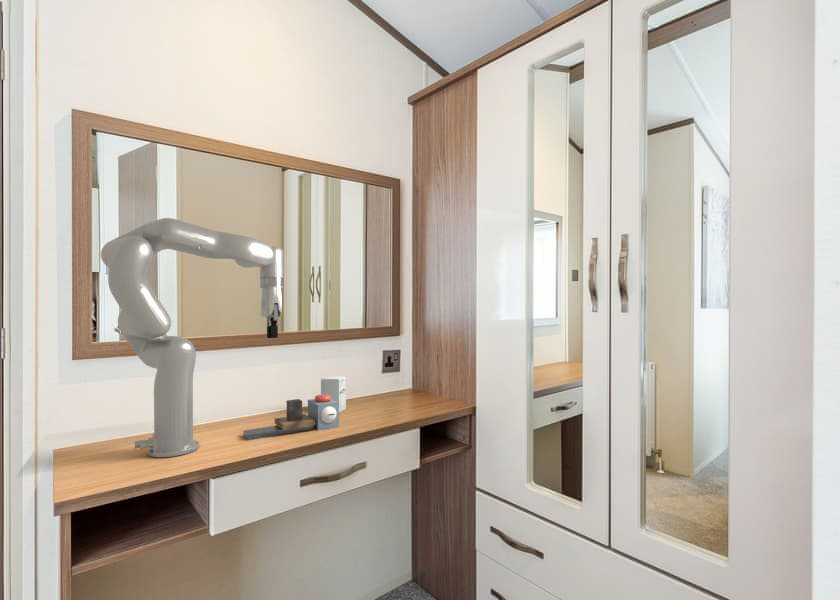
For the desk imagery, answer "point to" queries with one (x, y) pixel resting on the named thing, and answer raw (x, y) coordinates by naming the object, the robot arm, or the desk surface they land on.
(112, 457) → the desk surface
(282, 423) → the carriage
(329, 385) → the supplement box
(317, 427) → the gauge cabinet
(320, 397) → the button
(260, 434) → the track
